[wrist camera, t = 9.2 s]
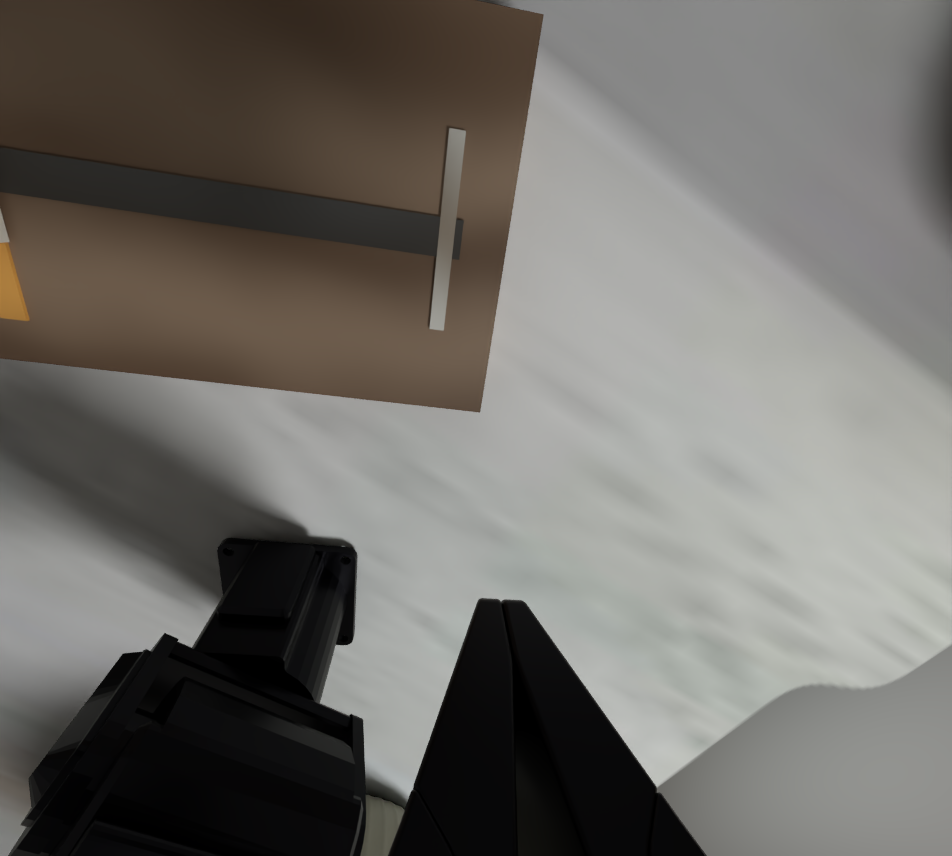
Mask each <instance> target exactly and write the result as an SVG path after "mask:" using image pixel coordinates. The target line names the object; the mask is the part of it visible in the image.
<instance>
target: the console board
mask: <svg viewBox="0 0 952 856" xmlns="http://www.w3.org/2000/svg"><path fill="white" fill-rule="evenodd" d="M542 21H543V14H539V13H534V12H529V11H524V10H520V9H515V8H510V7H505V6H501V5H496V4H491V3H486V2H482V1H477V0H0V209H1V213H2V216H3V220H4V224H5V227H6V231H7V234H8V238H9V242H4V243H0V358H3V359H11V360H20V361H29V362H38V363H47V364H56V365H65V366H74V367H82V368H91V369H100V370H109V371H118V372H127V373H136V374H144V375H153V376H162V377H171V378H180V379H189V380H198V381H207V382H215V383H224V384H233V385H242V386H251V387H260V388H269V389H278V390H286V391H295V392H304V393H313V394H322V395H331V396H340V397H348V398H357V399H366V400H375V401H384V402H393V403H402V404H411V405H419V406H428V407H437V408H446V409H455V410H464V411H473V412H480V409H481V403H482V397H483V390H484V384H485V378H486V371H487V365H488V359H489V353H490V346H491V340H492V334H493V328H494V321H495V315H496V309H497V303H498V296H499V290H500V284H501V278H502V271H503V265H504V259H505V252H506V246H507V240H508V234H509V227H510V221H511V215H512V209H513V202H514V196H515V190H516V184H517V177H518V171H519V165H520V159H521V152H522V146H523V140H524V133H525V127H526V121H527V115H528V108H529V102H530V96H531V90H532V83H533V77H534V71H535V65H536V58H537V52H538V46H539V40H540V33H541V27H542Z"/></svg>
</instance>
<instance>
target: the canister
mask: <svg viewBox="0 0 952 856" xmlns="http://www.w3.org/2000/svg"><path fill="white" fill-rule="evenodd" d="M404 811H405V810H404V809H403V808H402V807H401V806H398V805H394V804H393V803H392V802H391V801H385V800H382V798H379V797H372V796H370V795H366V828H365V835H364V842H363V847H362V851H361V855H360V856H388V854H389V851H390V849H391V846H392V843H393V841H394V838H395V835H396V833H397V830H398V828H399V825H400V822H401V819H402V816H403V814H404Z"/></svg>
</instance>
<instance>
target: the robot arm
mask: <svg viewBox="0 0 952 856" xmlns="http://www.w3.org/2000/svg"><path fill="white" fill-rule="evenodd" d="M228 548H231V549H232V550H229V549H228ZM217 552H218V559H219V567H220V575H221V582H222V590H223V597H222V599H221V600H220V602H219V604H218V605H217V607H216V609H215V610H214V612H213V614H212V615H211V617H210V619H209V620H208V622H207V624H206V625H205V627H204V629H203V630H202V632H201V634H200V635H199V637H198V639H197V640H196V642H195V644H194V645H193V647H192V648H191V647H188V646H186V645H184V644H182V643H179V642H177V641H178V639H177V638H175V637H173V636H170V635H168V634H166V633H164V634H163V636H162V637H161V638H160V640H159V641H158V642H157V643H156V645H155V646H154V647H153V649H152V650H151V651H149V650H147V649H146V650H144V651H143V652H135V653H125V654H122V656H121V657H120V658H119V660H118V661H117V662H116V664H115V665H114V666H113V668H112V669H111V670H110V672H109V673H108V674H107V676H106V677H105V678H104V680H103V681H102V682H101V684H100V685H99V686H98V688H97V689H96V690H95V692H94V693H93V694H92V696H91V697H90V698H89V700H88V701H87V702H86V703H85V705H84V706H83V707H82V709H81V710H80V711H79V713H78V714H77V715H76V717H75V718H74V719H73V721H72V722H71V723H70V725H69V726H68V727H67V729H66V730H65V731H64V732H63V734H62V735H61V736H60V738H59V739H58V740H57V742H56V743H55V744H54V746H53V747H52V748H51V750H50V751H49V752H48V754H47V755H46V756H45V758H44V759H43V760H42V761H41V763H40V764H39V765H38V767H37V768H36V769H35V771H34V772H33V773H32V775H31V776H30V777H29V787H30V797H31V807H32V808H31V809H30V811H29V812H28V814H27V815H26V817H25V818H24V820H23V822H22V823H21V825H22V826H26V829H25V830H24V832H23V833H22V835H21V836H20V838H19V839H18V841H17V843H16V844H15V846H14V847H13V849H12V850H11V852H10V853H9V855H8V856H360V855H361V851H362V847H363V842H364V835H365V828H366V788H365V761H364V733H363V719H361V718H359V717H357V716H354V715H352V714H351V715H349V716H348V715H346V714H343V713H341V712H339V711H337V710H334V709H332V708H330V707H327V706H325V705H323V704H320V700H321V697H322V693H323V689H324V686H325V682H326V678H327V675H328V671H329V667H330V664H331V660H332V656H333V653H334V649H335V645H348V644H350V643H351V642H352V641H353V637H354V631H355V605H356V579H357V553H356V551H355V550H354V549H352V548H349V547H338V546H325V545H312V544H300V543H287V542H274V541H261V540H249V539H236V538H227V539H225V540H223V542H222V543H221V544H220V546H219V547H218V550H217ZM343 557H348V558H350V559H345V558H343ZM656 792H657V788H656V785H655V784H654V783H653V781H652V780H651V778H650V777H649V776H648V774H647V773H646V771H645V770H644V769H643V767H642V766H641V764H640V763H639V762H638V760H637V759H636V757H635V756H634V755H633V753H632V752H631V750H630V749H629V748H628V746H627V745H626V743H625V742H624V741H623V739H622V738H621V736H620V735H619V733H618V732H617V731H616V729H615V728H614V726H613V725H612V724H611V722H610V721H609V719H608V718H607V717H606V715H605V714H604V712H603V711H602V710H601V708H600V707H599V705H598V704H597V703H596V701H595V700H594V698H593V697H592V696H591V694H590V693H589V691H588V690H587V689H586V687H585V686H584V684H583V683H582V682H581V680H580V679H579V677H578V676H577V674H576V673H575V672H574V670H573V669H572V667H571V666H570V665H569V663H568V662H567V660H566V659H565V658H564V656H563V655H562V653H561V652H560V651H559V649H558V648H557V646H556V645H555V644H554V642H553V641H552V639H551V638H550V637H549V635H548V634H547V632H546V631H545V630H544V628H543V627H542V625H541V624H540V622H539V621H538V620H537V618H536V617H535V615H534V614H533V613H532V611H531V610H530V608H529V607H528V606H527V604H526V603H525V602H524V601H521V600H503V601H502V602H501V601H500V600H499V599H486V598H481V599H479V600H478V602H477V605H476V607H475V610H474V613H473V616H472V619H471V622H470V625H469V628H468V630H467V633H466V636H465V639H464V642H463V645H462V648H461V651H460V653H459V656H458V659H457V662H456V665H455V668H454V671H453V674H452V676H451V679H450V682H449V685H448V688H447V691H446V694H445V697H444V699H443V702H442V705H441V708H440V711H439V714H438V717H437V720H436V722H435V725H434V728H433V731H432V734H431V737H430V740H429V743H428V745H427V748H426V751H425V754H424V757H423V760H422V763H421V766H420V768H419V771H418V774H417V777H416V780H415V783H414V788H413V790H412V791H411V793H410V796H409V799H408V802H407V805H406V808H405V811H404V814H403V816H402V819H401V822H400V825H399V828H398V830H397V833H396V835H395V838H394V841H393V843H392V846H391V849H390V851H389V854H388V856H707V855H706V854H705V853H704V851H703V850H702V849H701V847H700V846H699V845H698V843H697V842H696V841H695V839H694V838H693V837H692V835H691V834H690V833H689V831H688V830H687V829H686V827H685V826H684V824H683V823H682V822H681V820H680V819H679V818H678V816H677V815H676V813H675V812H674V811H673V809H672V808H671V806H670V805H669V803H668V802H667V801H666V799H665V798H664V796H663V795H662V794H661V793H660V792H658V793H656Z"/></svg>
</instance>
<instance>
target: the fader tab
mask: <svg viewBox="0 0 952 856" xmlns="http://www.w3.org/2000/svg"><path fill="white" fill-rule="evenodd" d="M4 242H9V238H8V234H7V231H6V227H5V224H4V220H3V216H2V213H1V209H0V243H4Z"/></svg>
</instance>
